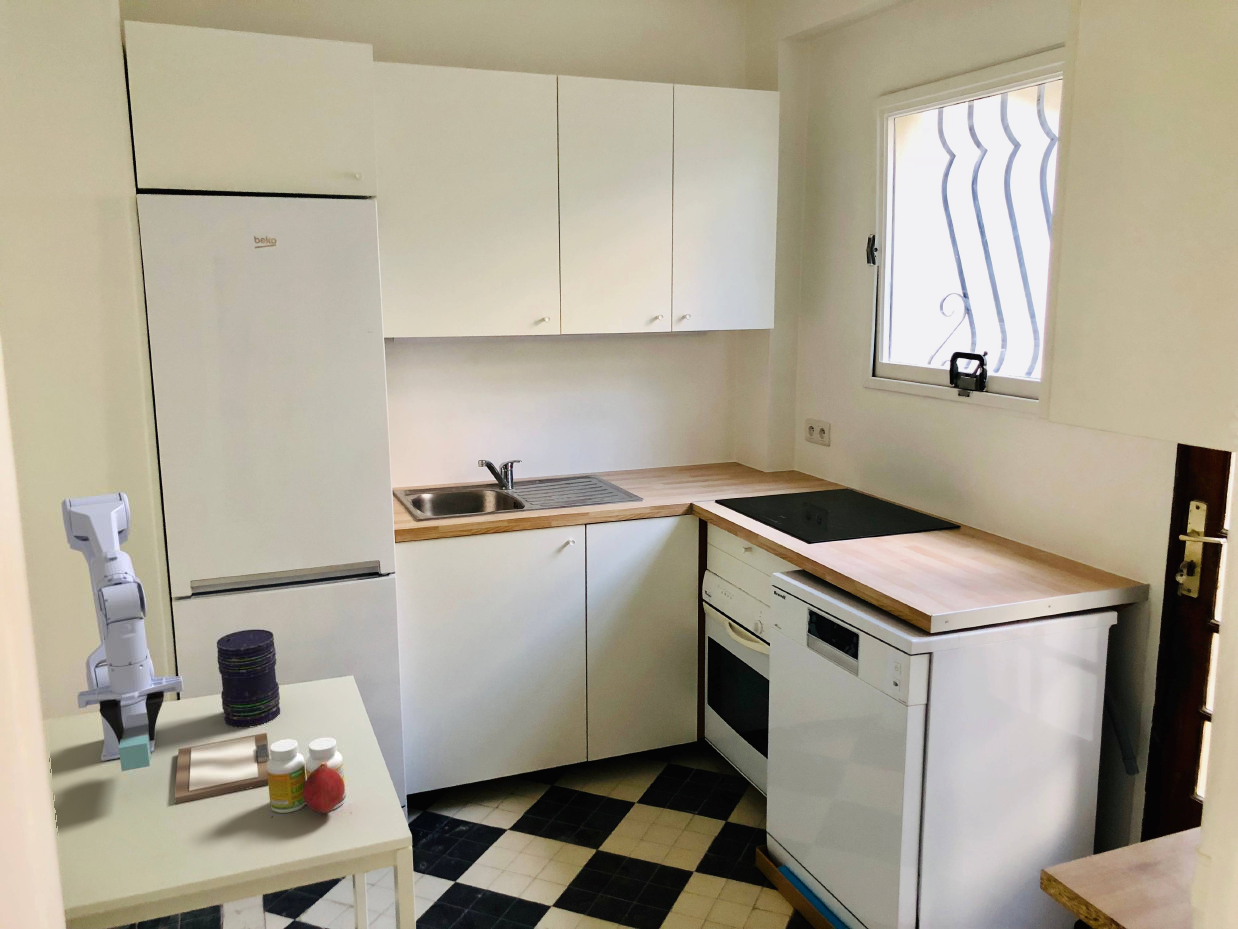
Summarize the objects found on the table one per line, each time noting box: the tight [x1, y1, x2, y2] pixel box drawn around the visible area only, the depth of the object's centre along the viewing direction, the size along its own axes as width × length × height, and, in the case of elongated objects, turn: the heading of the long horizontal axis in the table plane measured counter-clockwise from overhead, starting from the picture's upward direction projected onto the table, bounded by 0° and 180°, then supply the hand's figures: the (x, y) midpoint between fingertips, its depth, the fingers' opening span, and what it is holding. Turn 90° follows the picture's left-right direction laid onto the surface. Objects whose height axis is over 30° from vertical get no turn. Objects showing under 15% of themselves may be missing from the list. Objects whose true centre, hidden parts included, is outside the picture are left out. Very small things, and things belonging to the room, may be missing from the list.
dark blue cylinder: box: [216, 628, 281, 729], centre depth 173 cm, size 10×10×15 cm
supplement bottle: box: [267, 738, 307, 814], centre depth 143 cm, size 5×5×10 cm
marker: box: [119, 712, 152, 772], centre depth 149 cm, size 14×4×4 cm, turn 23°
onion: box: [303, 762, 346, 814], centre depth 140 cm, size 6×6×8 cm
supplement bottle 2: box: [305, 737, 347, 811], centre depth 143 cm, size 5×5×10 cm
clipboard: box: [174, 732, 271, 804], centre depth 155 cm, size 17×14×2 cm
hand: (137, 740), depth 149 cm, fingers closed on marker, 4 cm apart
